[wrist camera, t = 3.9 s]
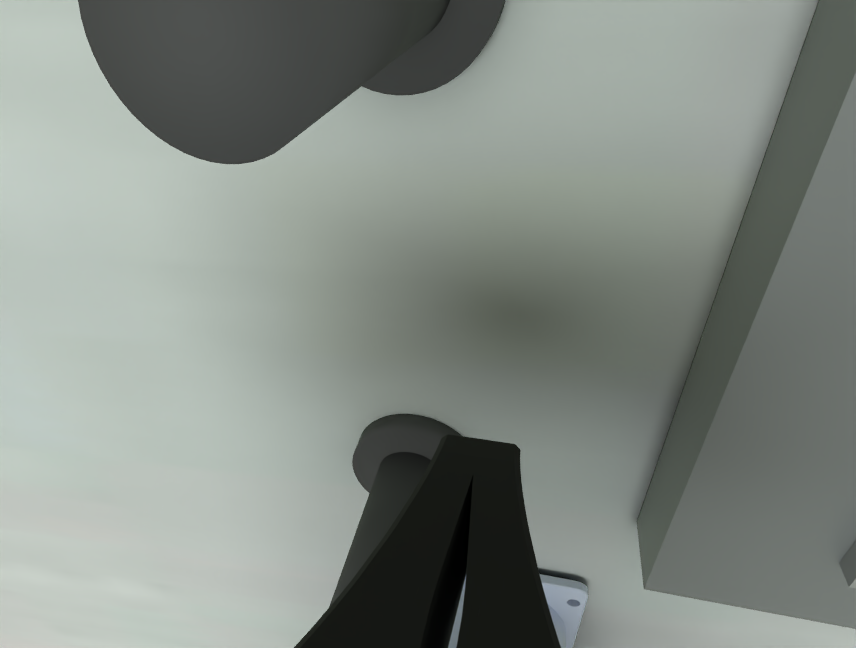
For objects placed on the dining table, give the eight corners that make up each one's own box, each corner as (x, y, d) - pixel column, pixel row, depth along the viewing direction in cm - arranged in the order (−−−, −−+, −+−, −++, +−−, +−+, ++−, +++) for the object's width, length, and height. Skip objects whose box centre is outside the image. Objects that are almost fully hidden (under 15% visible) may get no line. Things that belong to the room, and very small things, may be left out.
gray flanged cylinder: (474, 505, 21) (432, 754, 15) (363, 486, 22) (279, 715, 16) (479, 424, 19) (432, 683, 12) (354, 406, 19) (248, 640, 13)
